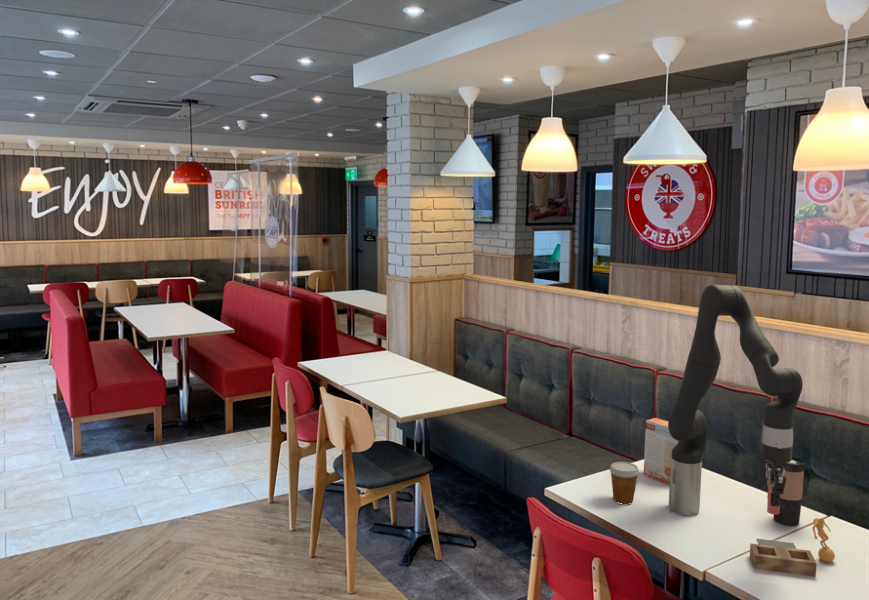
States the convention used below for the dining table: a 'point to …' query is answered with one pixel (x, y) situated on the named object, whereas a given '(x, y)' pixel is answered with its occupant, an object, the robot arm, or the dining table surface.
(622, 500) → the disposable coffee cup
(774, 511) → the peg
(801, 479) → the travel mug
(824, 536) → the figurine
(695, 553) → the dining table surface
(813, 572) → the hole block
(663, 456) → the cracker box
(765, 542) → the mat
